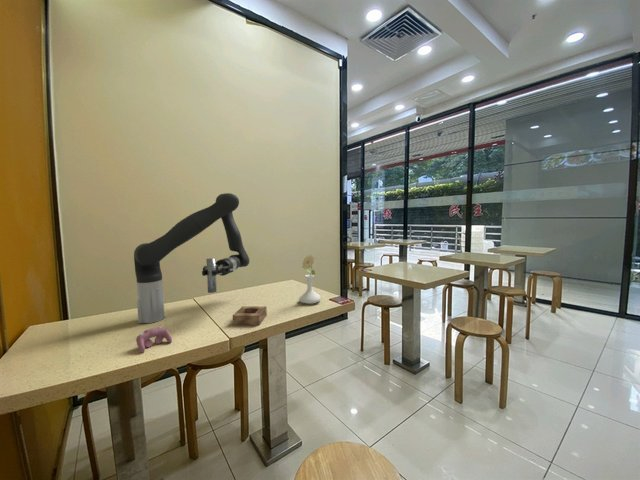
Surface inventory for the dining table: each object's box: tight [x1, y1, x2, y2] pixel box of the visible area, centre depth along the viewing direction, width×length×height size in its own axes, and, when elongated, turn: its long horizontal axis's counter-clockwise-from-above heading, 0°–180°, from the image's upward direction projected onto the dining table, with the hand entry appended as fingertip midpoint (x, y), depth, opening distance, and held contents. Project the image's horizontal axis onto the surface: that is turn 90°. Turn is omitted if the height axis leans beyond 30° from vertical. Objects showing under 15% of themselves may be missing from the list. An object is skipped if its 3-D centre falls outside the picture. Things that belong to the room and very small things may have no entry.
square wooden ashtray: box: [232, 305, 268, 326], centre depth 111 cm, size 11×11×4 cm
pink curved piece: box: [135, 326, 173, 354], centre depth 89 cm, size 10×5×7 cm, turn 141°
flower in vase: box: [298, 254, 322, 305], centre depth 132 cm, size 13×11×25 cm
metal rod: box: [205, 257, 218, 294], centre depth 110 cm, size 4×4×14 cm
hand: (208, 273), depth 107 cm, fingers closed on metal rod, 3 cm apart
